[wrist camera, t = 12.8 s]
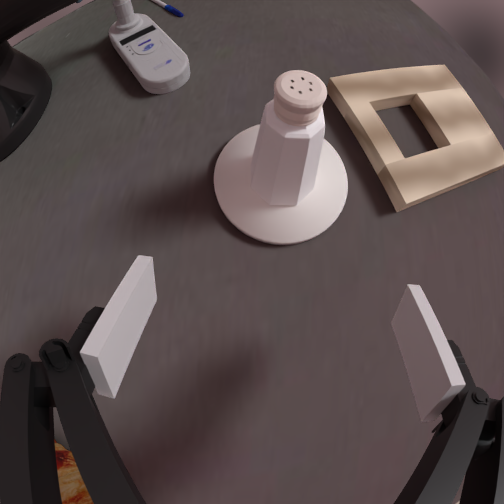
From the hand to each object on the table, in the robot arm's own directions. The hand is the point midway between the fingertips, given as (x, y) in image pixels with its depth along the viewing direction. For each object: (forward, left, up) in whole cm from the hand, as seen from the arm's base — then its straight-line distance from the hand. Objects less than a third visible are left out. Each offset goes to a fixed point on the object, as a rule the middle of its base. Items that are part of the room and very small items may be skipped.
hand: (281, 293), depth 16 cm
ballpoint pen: (-41, +2, -9) cm, 42 cm away
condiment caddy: (-10, +22, -8) cm, 25 cm away
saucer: (-9, +5, -8) cm, 13 cm away
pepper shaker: (-9, +5, -8) cm, 13 cm away
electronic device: (-30, -2, -9) cm, 31 cm away
